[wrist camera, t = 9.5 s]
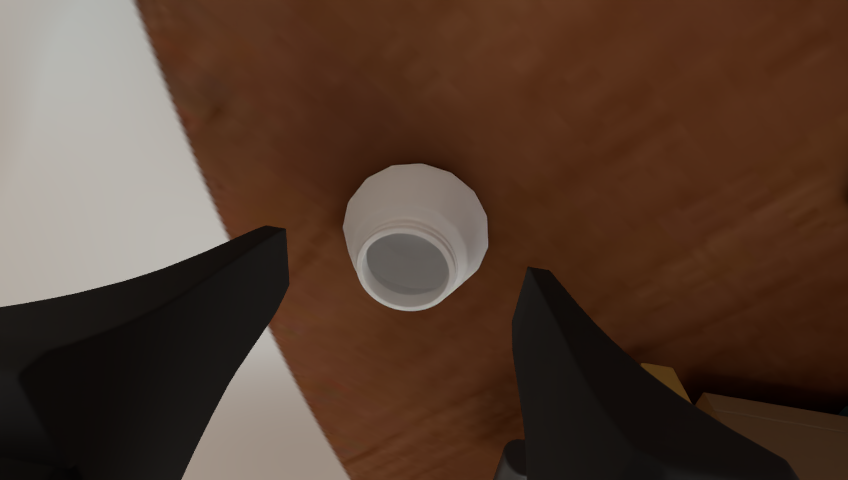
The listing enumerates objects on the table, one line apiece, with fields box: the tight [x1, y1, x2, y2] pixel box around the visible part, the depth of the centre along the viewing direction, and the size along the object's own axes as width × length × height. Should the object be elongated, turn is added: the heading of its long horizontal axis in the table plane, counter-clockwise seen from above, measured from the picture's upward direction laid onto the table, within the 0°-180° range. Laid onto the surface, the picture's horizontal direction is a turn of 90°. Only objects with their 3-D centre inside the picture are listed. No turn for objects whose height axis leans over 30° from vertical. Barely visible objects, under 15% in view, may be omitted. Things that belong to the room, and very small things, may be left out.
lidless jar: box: [343, 163, 488, 311], centre depth 14 cm, size 5×3×5 cm
